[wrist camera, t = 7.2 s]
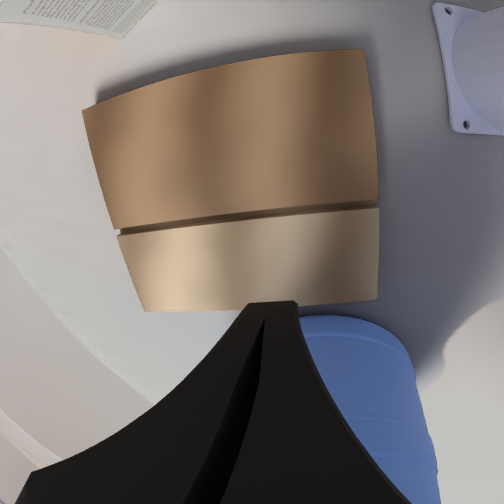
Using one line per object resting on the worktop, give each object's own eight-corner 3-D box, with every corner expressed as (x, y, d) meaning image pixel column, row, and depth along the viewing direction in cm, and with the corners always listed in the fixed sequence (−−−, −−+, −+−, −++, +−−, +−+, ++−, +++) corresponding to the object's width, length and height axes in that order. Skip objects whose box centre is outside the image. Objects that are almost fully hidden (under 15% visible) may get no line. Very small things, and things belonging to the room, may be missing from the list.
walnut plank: (359, 52, 13) (363, 49, 12) (373, 192, 16) (378, 199, 15) (92, 108, 16) (81, 110, 15) (122, 222, 20) (114, 229, 19)
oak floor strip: (374, 195, 17) (378, 202, 16) (373, 289, 19) (377, 299, 18) (123, 224, 20) (114, 231, 19) (150, 302, 22) (144, 311, 21)
